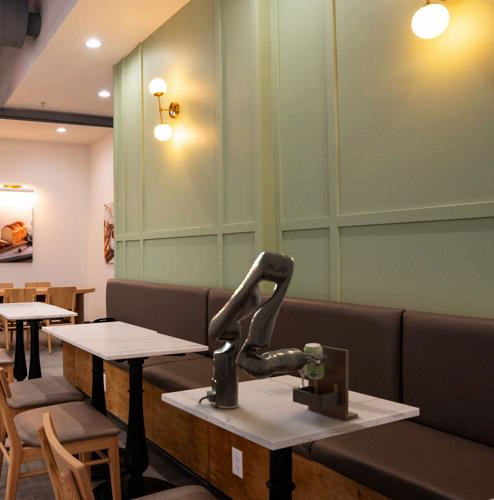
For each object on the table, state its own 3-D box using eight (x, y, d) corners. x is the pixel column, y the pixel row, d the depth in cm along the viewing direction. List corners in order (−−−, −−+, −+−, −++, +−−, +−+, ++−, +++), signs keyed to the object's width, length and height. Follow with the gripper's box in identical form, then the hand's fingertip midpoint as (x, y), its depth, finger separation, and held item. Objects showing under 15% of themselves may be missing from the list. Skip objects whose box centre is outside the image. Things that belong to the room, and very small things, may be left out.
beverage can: (327, 378, 178) (327, 343, 178) (319, 381, 173) (319, 345, 173) (309, 375, 182) (309, 341, 183) (300, 378, 177) (301, 343, 177)
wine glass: (307, 392, 212) (307, 356, 212) (289, 388, 218) (289, 353, 218) (316, 389, 218) (316, 353, 218) (298, 385, 223) (298, 351, 224)
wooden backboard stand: (325, 426, 169) (326, 353, 169) (288, 414, 181) (288, 346, 182) (358, 417, 179) (358, 348, 179) (320, 406, 192) (320, 342, 192)
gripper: (305, 352, 164) (337, 348, 173) (270, 345, 176) (301, 342, 185) (305, 376, 164) (337, 370, 173) (269, 367, 176) (301, 363, 185)
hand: (318, 356), depth 179 cm, fingers closed on beverage can, 6 cm apart
